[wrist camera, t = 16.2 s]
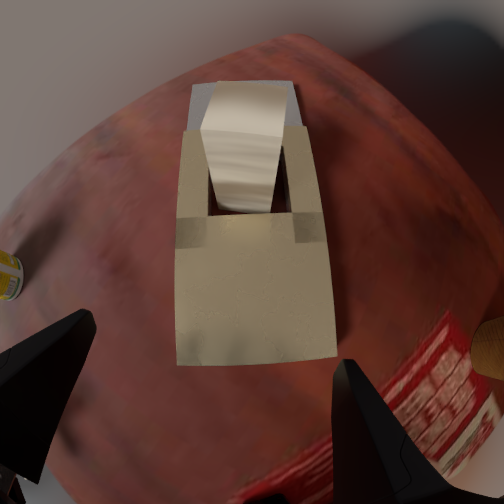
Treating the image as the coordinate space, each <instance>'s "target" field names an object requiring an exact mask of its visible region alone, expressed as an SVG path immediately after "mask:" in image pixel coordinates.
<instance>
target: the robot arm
mask: <svg viewBox="0 0 504 504" xmlns="http://www.w3.org/2000/svg"><path fill="white" fill-rule="evenodd" d="M96 329H97V328H96V324H95V321H94V318H93V315H92V312H91V311H89V310H86V309H80V310H78V311H76V312H74V313H72V314H70V315H68V316H67V317H65V318H63V319H61V320H59V321H57V322H56V323H54V324H52V325H50V326H48V327H46V328H45V329H43V330H41V331H39V332H37V333H36V334H34V335H32V336H30V337H29V338H27V339H25V340H23V341H22V342H20V343H18V344H16V345H15V346H13V347H12V348H9V349H8V350H6V351H4V352H2V353H0V504H25V503H26V501H25V499H24V496H23V493H22V490H21V488H20V485H19V482H18V479H17V478H16V474H18V475H20V476H22V477H24V478H26V479H27V480H29V481H31V482H34V483H35V484H38V483H39V480H40V477H41V473H42V470H43V467H44V464H45V460H46V457H47V454H48V451H49V448H50V445H51V442H52V439H53V437H54V434H55V431H56V429H57V426H58V423H59V421H60V418H61V416H62V413H63V411H64V408H65V406H66V404H67V401H68V399H69V397H70V394H71V392H72V390H73V387H74V385H75V383H76V381H77V379H78V376H79V374H80V372H81V370H82V368H83V366H84V363H85V361H86V358H87V355H88V352H89V350H90V347H91V344H92V342H93V339H94V336H95V334H96ZM331 423H332V443H333V504H504V495H503V496H501V497H500V498H492V497H488V496H483V495H479V494H476V493H472V492H468V491H465V490H461V489H458V488H456V487H454V486H452V485H451V484H449V483H448V482H447V481H446V480H445V479H444V478H443V477H442V476H441V475H440V474H439V473H438V471H437V470H436V469H435V468H434V467H433V466H432V465H431V464H430V462H429V461H428V460H427V459H426V458H425V457H424V455H423V454H422V453H421V452H420V450H419V449H418V448H417V446H416V445H415V444H414V442H413V441H412V440H411V438H410V437H409V435H408V434H406V431H405V430H404V428H403V427H402V425H401V424H400V423H399V421H398V420H397V418H396V417H395V416H394V414H393V413H392V411H391V410H390V409H389V407H388V406H387V404H386V403H385V402H384V400H383V399H382V397H381V396H380V395H379V393H378V392H377V390H376V389H375V388H374V386H373V385H372V384H371V382H370V381H369V379H368V378H367V377H366V375H365V374H364V373H363V371H362V370H361V368H360V367H359V366H358V364H357V363H356V362H355V361H354V360H353V359H342V360H341V362H340V363H339V365H338V367H337V369H336V371H335V372H334V375H333V391H332V410H331ZM277 498H280V499H277ZM250 504H290V502H289V501H288V500H287V499H286V497H285V496H284V495H283V494H276V495H273V496H271V497H268V498H265V499H263V500H260V501H256V502H253V503H250Z"/></svg>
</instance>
